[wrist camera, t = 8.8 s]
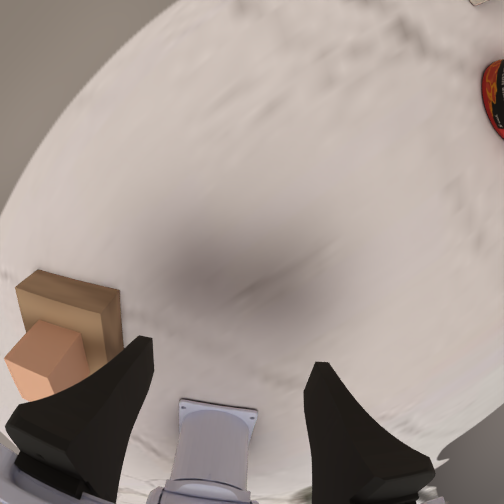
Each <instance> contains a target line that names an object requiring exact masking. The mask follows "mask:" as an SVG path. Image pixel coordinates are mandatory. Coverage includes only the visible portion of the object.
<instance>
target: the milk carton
mask: <svg viewBox="0 0 504 504" xmlns="http://www.w3.org/2000/svg"><path fill="white" fill-rule="evenodd" d="M470 1H471V2H472V4H473V5H474V6H476V5H479V4H481V3H484V2H486V1H488V0H470Z"/></svg>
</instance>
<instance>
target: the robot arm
mask: <svg viewBox="0 0 504 504" xmlns="http://www.w3.org/2000/svg"><path fill="white" fill-rule="evenodd" d="M153 373H154V359H153V341H152V338H149V337H145V336H140V335H139V336H138V337H137V338H135V339H134V340H133V341H132V342H131V343H130V344H129V345H128V346H127V347H126V348H124V349H123V350H122V351H121V352H120V353H119V354H118V355H116V356H115V357H114V358H113V359H112V360H110V361H109V362H108V363H107V364H105V365H104V366H103V367H101V368H100V369H99V370H97V371H96V372H94V373H93V374H91V375H90V376H88V377H87V378H85V379H84V380H82V381H80V382H79V383H77V384H75V385H73V386H71V387H69V388H67V389H65V390H63V391H61V392H58V393H56V394H53V395H51V396H48V397H45V398H42V399H39V400H36V401H32V402H28V403H24V404H19V405H18V407H17V408H16V409H15V411H14V412H13V414H12V415H11V417H10V419H9V420H8V422H7V423H6V425H5V428H6V431H7V433H8V435H9V436H10V438H11V439H12V440H13V442H14V443H15V444H16V446H17V447H18V448H19V449H20V453H19V455H17V454H15V453H14V452H13V451H12V450H10V449H8V448H7V447H6V446H4V445H2V444H1V443H0V502H2V503H3V504H116V499H117V492H118V486H119V480H120V475H121V470H122V465H123V461H124V457H125V453H126V449H127V445H128V441H129V437H130V434H131V431H132V428H133V426H134V423H135V421H136V419H137V416H138V414H139V411H140V409H141V407H142V404H143V402H144V400H145V397H146V395H147V393H148V390H149V387H150V384H151V380H152V377H153ZM304 413H305V419H306V425H307V431H308V437H309V442H310V448H311V456H312V504H416V500H418V499H419V496H418V491H419V490H421V489H422V488H423V487H425V486H426V485H427V484H428V483H429V482H430V481H431V480H432V479H433V478H434V477H435V470H434V467H433V465H432V462H431V460H430V458H429V457H428V456H426V455H424V454H422V453H420V452H418V451H416V450H414V449H412V448H410V447H409V446H407V445H406V444H404V443H403V442H401V441H400V440H398V439H397V438H395V437H394V436H393V435H391V434H390V433H389V432H388V431H386V430H385V429H384V428H383V427H381V426H380V425H379V424H378V423H377V422H376V421H375V420H374V419H373V418H372V417H371V416H370V415H369V414H368V413H367V412H366V411H365V410H364V409H363V408H362V406H361V405H360V404H359V403H358V402H357V401H356V399H355V398H354V397H353V396H352V394H351V393H350V392H349V390H348V389H347V388H346V386H345V385H344V384H343V382H342V381H341V380H340V378H339V377H338V375H337V374H336V372H335V371H334V370H333V368H332V367H331V365H330V364H329V363H328V362H315V364H314V367H313V369H312V372H311V374H310V377H309V379H308V382H307V384H306V387H305V389H304ZM257 417H258V412H257V411H256V410H249V409H240V408H233V407H226V406H219V405H212V404H206V403H200V402H195V401H190V400H184V399H182V400H180V402H179V441H178V445H177V450H176V454H175V459H174V463H173V468H172V473H171V477H170V480H168V479H167V480H166V484H165V488H163V487H160V486H158V487H157V488H156V489H154V490H152V491H151V492H150V494H149V496H148V499H147V502H146V504H259V503H258V502H257V501H255V500H250V494H251V492H250V491H247V466H248V444H249V441H250V438H251V435H252V432H253V429H254V426H255V423H256V420H257ZM421 504H445V501H444V498H443V497H439V498H436V499H433V500H430V501H426V502H424V503H421Z"/></svg>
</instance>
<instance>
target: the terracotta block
mask: <svg viewBox="0 0 504 504" xmlns="http://www.w3.org/2000/svg"><path fill="white" fill-rule="evenodd" d="M4 360H5V362H6V364H7V366H8V369H9V371H10V373H11V375H12V378H13V380H14V382H15V384H16V386H17V388H18V390H19V392H20V394H21V396H22V398H24V399H26V400H28V401H30V402H32V401H36V400H39V399H42V398H45V397H48V396H51V395H53V394H56V393H58V392H61V391H63V390H65V389H67V388H69V387H71V386H73V385H75V384H77V383H79V382H80V381H82V380H84V379H85V378H87V377H88V375H89V373H90V370H89V366H88V362H87V358H86V354H85V350H84V346H83V341H82V337H81V333H80V332H76V331H73V330H70V329H67V328H63V327H60V326H57V325H54V324H51V323H48V322H45V321H42V320H38V321H37V322H36V323H35V324H34V325H33V326H32V328H31V329H30V330H29V331H28V332H27V333H26V334H25V335H24V336H23V337H22V338H21V339H20V341H19V342H18V343H17V344H16V345H15V346H14V347H13V348H12V350H11V351H10V352H9V353H8V354H7V355H6V356H5V358H4Z"/></svg>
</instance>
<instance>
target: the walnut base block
mask: <svg viewBox="0 0 504 504" xmlns="http://www.w3.org/2000/svg"><path fill="white" fill-rule="evenodd" d="M15 289H16V294H17V298H18V303H19V307H20V311H21V315H22V319H23V322H24V326H25V330H26V333H27V332H28V331H29V330H30V329H31V328H32V326H33V325H34V324H35V323H36V322H37V321H38V320H42V321H45V322H48V323H51V324H54V325H57V326H60V327H63V328H67V329H70V330H73V331H76V332H80V333H81V337H82V341H83V346H84V350H85V354H86V358H87V362H88V366H89V370H90V373H89V375H88V376H90V375H91V374H93V373H94V372H96V371H97V370H99V369H100V368H101V367H103V366H104V365H105V364H107V363H108V362H109V361H110V360H112V359H113V358H114V357H115V356H116V355H118V354H119V353H120V352H121V351H122V350H123V349H124V345H123V335H122V323H121V309H120V291H119V290H117V289H112V288H108V287H104V286H100V285H95V284H91V283H87V282H83V281H79V280H75V279H71V278H68V277H64V276H60V275H56V274H52V273H49V272H45V271H42V270H36V271H35V272H34V273H33V274H31V275H30V276H29V277H27V278H26V279H25V280H24V281H22V282H21V283H20V284H18V285H17V286H16V287H15Z"/></svg>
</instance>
